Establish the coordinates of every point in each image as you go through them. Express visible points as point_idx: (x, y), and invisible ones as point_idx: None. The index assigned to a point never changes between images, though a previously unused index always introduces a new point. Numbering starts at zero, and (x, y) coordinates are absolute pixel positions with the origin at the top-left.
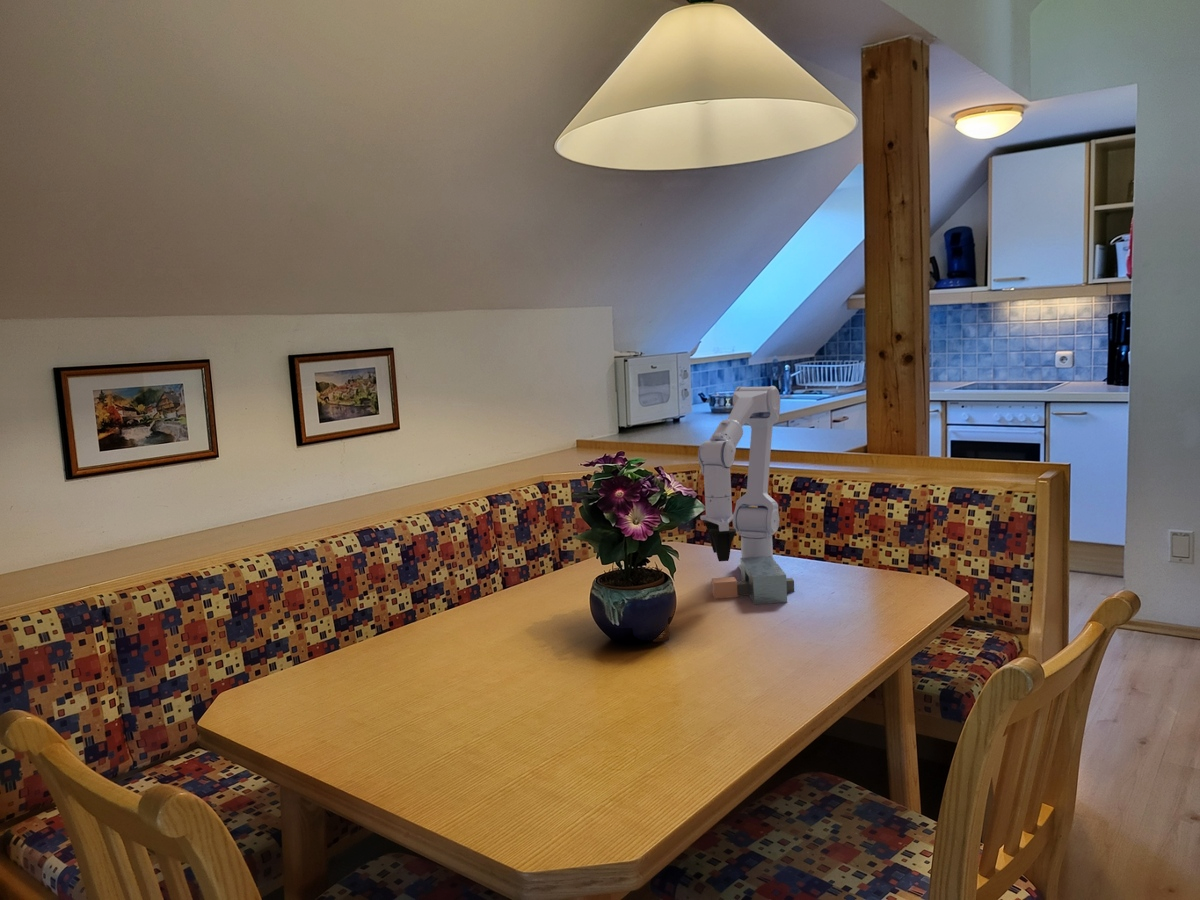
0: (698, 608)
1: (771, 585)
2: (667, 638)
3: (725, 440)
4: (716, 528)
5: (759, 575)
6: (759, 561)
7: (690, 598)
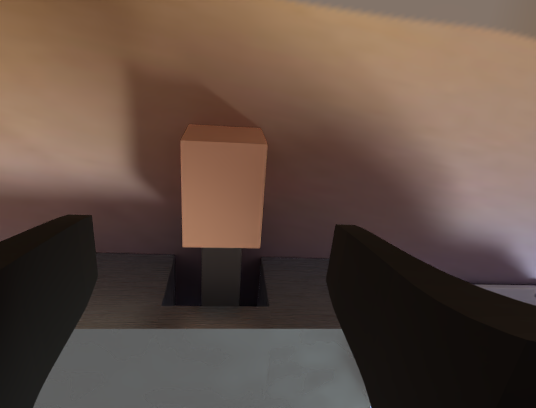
0: (39, 11)
1: None
2: None
3: None
4: (422, 403)
5: None
6: (293, 387)
7: (213, 8)
